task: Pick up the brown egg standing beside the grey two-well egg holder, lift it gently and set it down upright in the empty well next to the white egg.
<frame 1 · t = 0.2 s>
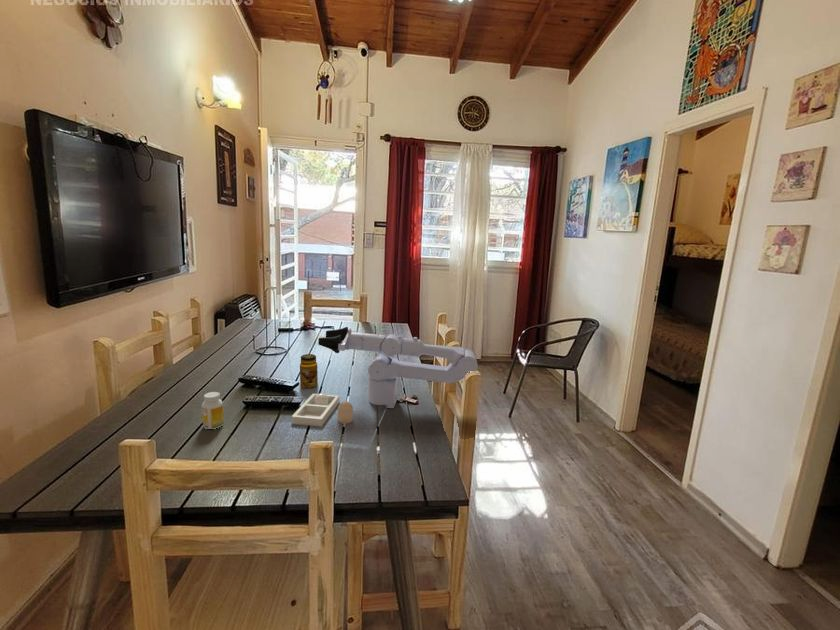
hand: (322, 337, 135), 21 cm above the table, tool horizontal, fingers open, 7 cm apart
supplement bottle: (213, 426, 118), on the table
holder: (317, 414, 128), on the table
condiment: (307, 387, 149), on the table
brown egg: (345, 422, 123), on the table
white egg: (321, 406, 131), point 1 cm above the table, touching holder
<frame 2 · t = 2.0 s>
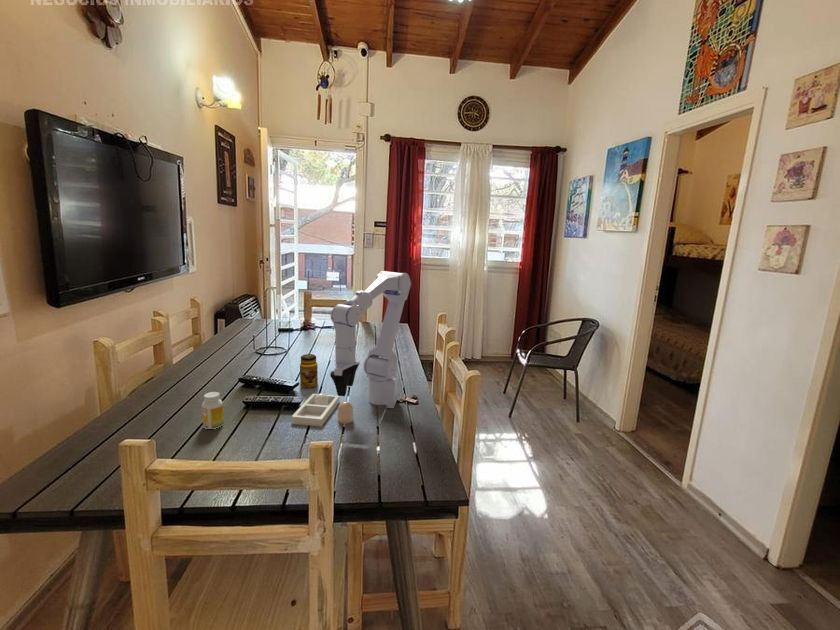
hand: (345, 390, 121), 10 cm above the table, tool pointing down, fingers open, 7 cm apart
nothing on the table moved.
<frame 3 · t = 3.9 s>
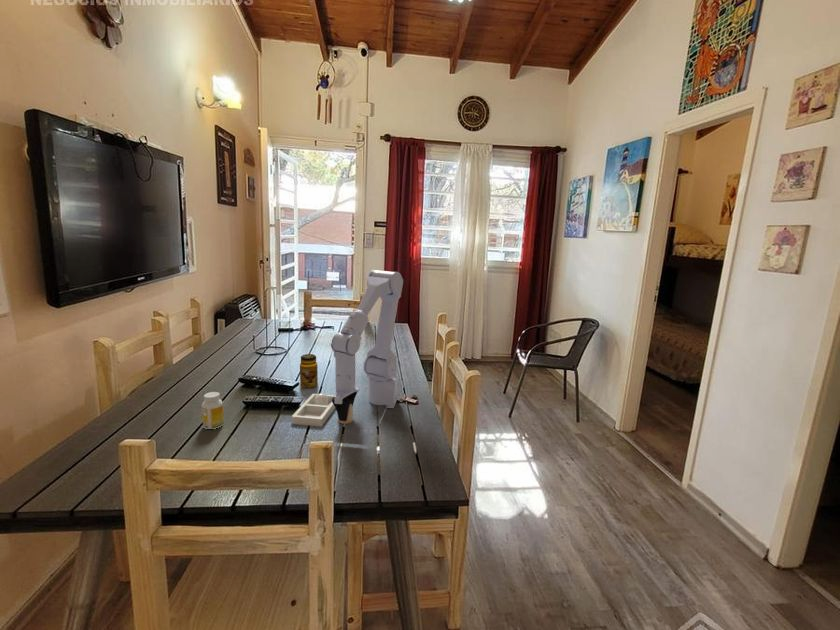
hand: (345, 416, 123), 2 cm above the table, tool pointing down, fingers closed on brown egg, 4 cm apart
brown egg: (345, 422, 123), on the table, touching gripper
everything else where it was.
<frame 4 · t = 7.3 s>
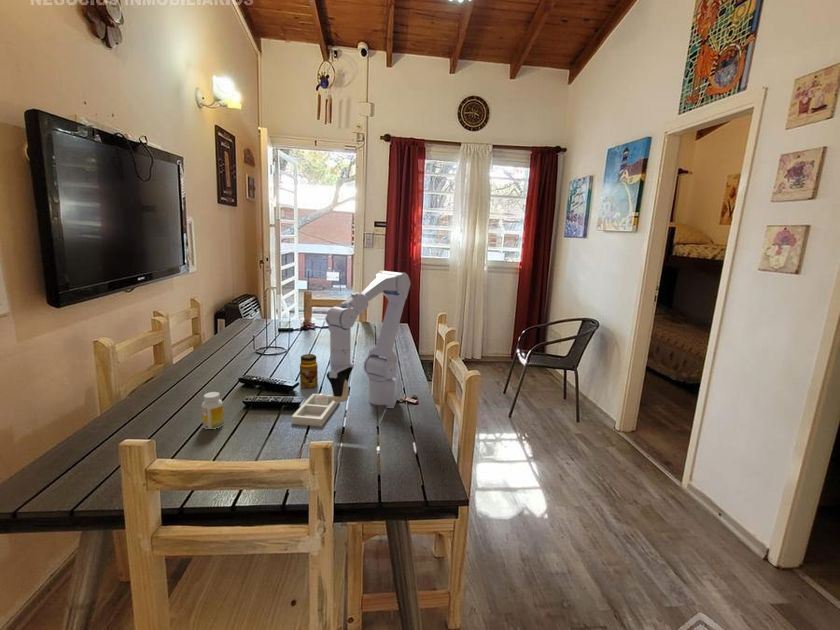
hand: (340, 392, 121), 9 cm above the table, tool pointing down, fingers closed on brown egg, 4 cm apart
brown egg: (340, 398, 122), point 7 cm above the table, touching gripper
everything else where it was.
when the fingers open (4 cm above the table, at t = 10.5 s): brown egg stays where it is, resting on holder.
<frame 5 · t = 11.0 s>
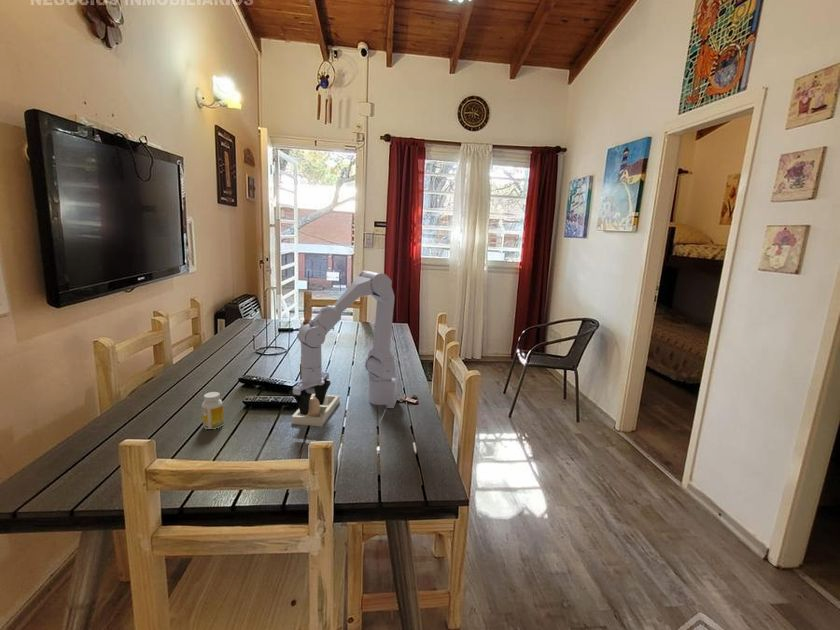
hand: (312, 408, 123), 4 cm above the table, tool pointing down, fingers open, 7 cm apart
brown egg: (312, 417, 124), point 1 cm above the table, touching holder
everything else where it was.
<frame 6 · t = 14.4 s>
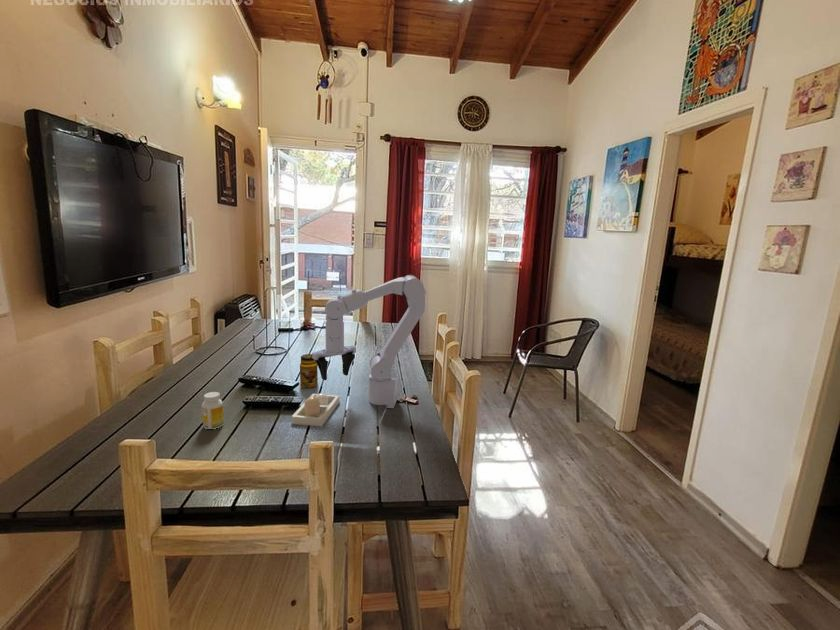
hand: (334, 376, 134), 9 cm above the table, tool pointing down, fingers open, 7 cm apart
nothing on the table moved.
at the end: brown egg 0.0 cm from the target spot on the holder, point 0.8 cm above the holder's base; brown egg tilted 0°; the gripper is holding nothing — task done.
